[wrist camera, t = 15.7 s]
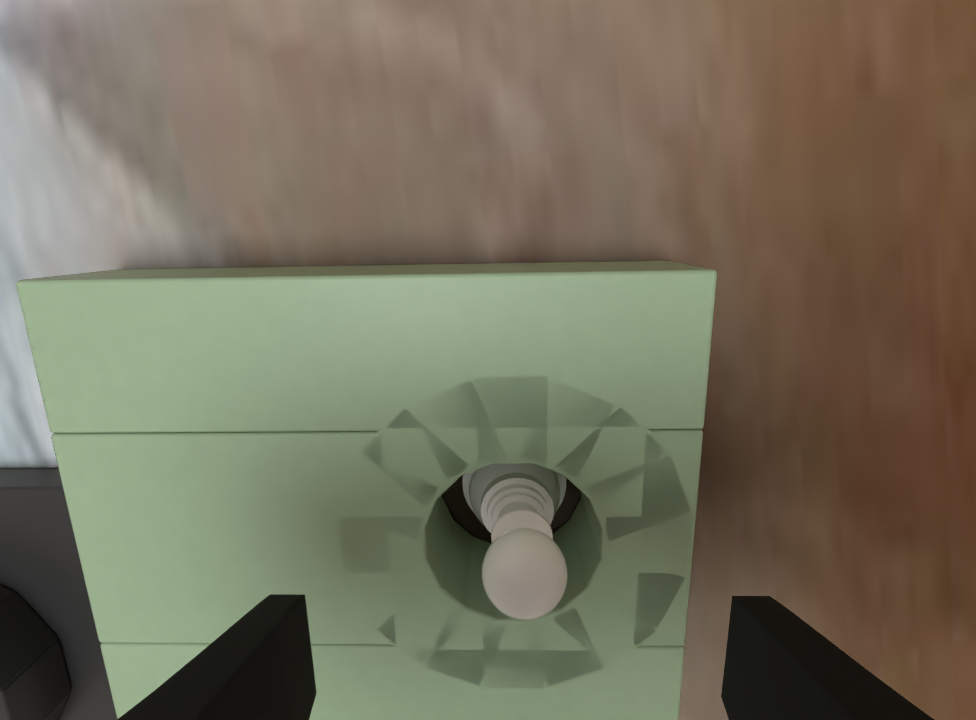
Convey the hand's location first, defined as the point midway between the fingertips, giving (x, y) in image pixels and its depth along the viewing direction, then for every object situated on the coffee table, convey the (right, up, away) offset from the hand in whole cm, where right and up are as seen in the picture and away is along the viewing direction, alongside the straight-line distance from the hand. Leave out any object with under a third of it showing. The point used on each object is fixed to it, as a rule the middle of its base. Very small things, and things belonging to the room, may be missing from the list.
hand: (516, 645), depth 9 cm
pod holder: (-3, +1, +6) cm, 7 cm away
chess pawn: (0, +2, +6) cm, 6 cm away
